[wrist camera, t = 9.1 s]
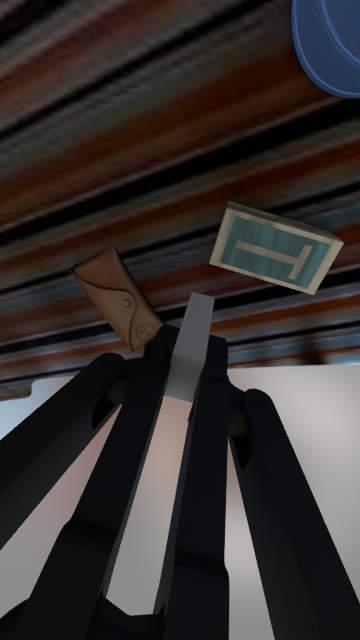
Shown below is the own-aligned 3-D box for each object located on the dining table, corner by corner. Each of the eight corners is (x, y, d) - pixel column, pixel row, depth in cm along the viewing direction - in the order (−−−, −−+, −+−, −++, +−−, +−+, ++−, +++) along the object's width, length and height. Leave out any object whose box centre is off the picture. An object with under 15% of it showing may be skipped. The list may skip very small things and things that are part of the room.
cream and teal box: (209, 264, 35) (314, 296, 35) (227, 208, 32) (344, 243, 31) (212, 250, 41) (303, 277, 41) (228, 200, 37) (329, 230, 37)
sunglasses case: (172, 329, 49) (148, 356, 45) (150, 331, 54) (127, 354, 51) (111, 240, 42) (77, 262, 39) (93, 252, 48) (62, 272, 44)
